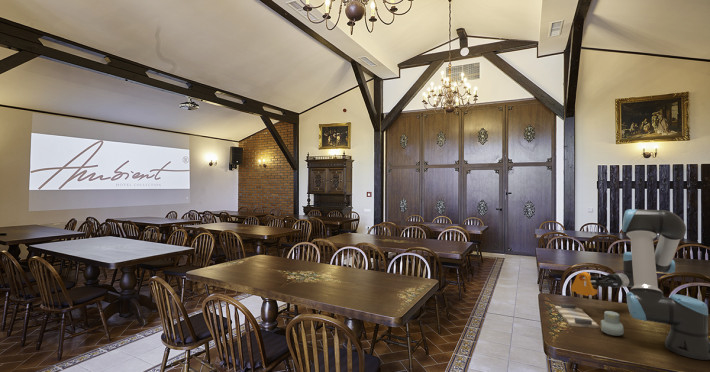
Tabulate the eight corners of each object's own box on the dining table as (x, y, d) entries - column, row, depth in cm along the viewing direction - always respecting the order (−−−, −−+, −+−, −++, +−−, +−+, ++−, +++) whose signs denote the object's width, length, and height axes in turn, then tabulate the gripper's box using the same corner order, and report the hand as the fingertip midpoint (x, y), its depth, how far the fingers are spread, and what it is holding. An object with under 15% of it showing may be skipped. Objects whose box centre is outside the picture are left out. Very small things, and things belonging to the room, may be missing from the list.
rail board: (599, 328, 172) (599, 322, 172) (569, 325, 176) (569, 319, 176) (580, 310, 197) (580, 304, 197) (554, 307, 201) (554, 302, 201)
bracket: (598, 294, 190) (598, 273, 190) (592, 297, 185) (593, 275, 185) (576, 289, 198) (576, 269, 198) (571, 292, 194) (571, 271, 194)
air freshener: (600, 327, 173) (600, 307, 173) (620, 331, 169) (620, 311, 169) (602, 335, 164) (602, 314, 164) (624, 339, 160) (624, 318, 160)
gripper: (631, 292, 186) (594, 293, 182) (602, 282, 204) (567, 284, 201) (631, 278, 186) (594, 279, 182) (602, 270, 204) (567, 271, 201)
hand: (580, 282), depth 191 cm, fingers closed on bracket, 5 cm apart
